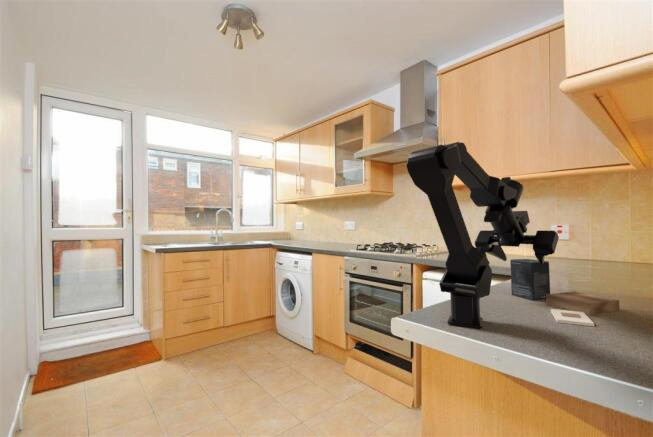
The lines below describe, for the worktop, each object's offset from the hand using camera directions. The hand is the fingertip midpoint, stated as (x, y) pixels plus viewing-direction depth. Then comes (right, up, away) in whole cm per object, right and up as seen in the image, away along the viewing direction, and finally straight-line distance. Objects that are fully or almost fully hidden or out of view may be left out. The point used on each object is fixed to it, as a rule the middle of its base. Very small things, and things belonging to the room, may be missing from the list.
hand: (523, 261), depth 84 cm
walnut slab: (+8, -10, -9) cm, 16 cm away
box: (+3, -11, +2) cm, 11 cm away
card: (-1, -10, -18) cm, 20 cm away
